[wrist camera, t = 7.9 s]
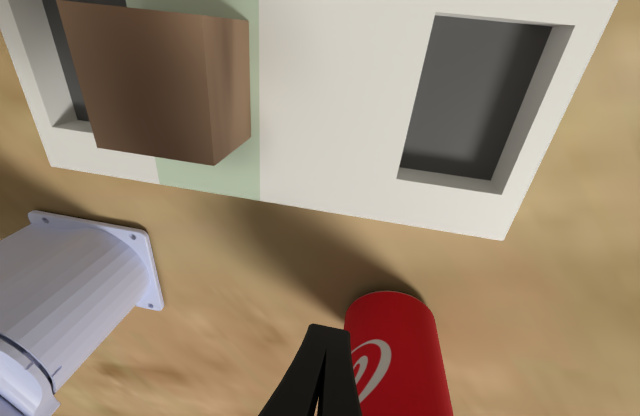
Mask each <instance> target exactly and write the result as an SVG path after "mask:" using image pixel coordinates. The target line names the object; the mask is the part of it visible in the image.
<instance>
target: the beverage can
mask: <svg viewBox="0 0 640 416" xmlns="http://www.w3.org/2000/svg"><path fill="white" fill-rule="evenodd" d="M344 330H347V331H349V333H350V342H351V355H352V363H353V370H354V377H355V382H356V387H357V392H358V397H359V402H360V407H361V411H362V415H363V416H453V411H452V406H451V401H450V395H449V390H448V385H447V380H446V375H445V370H444V365H443V360H442V355H441V350H440V344H439V339H438V334H437V329H436V324H435V319H434V316H433V314H432V312H431V311H430V309H429V308H428V307H427V306H426V305H425V304H424V303H423V302H421V301H420V300H418V299H417V298H415V297H413V296H411V295H408V294H405V293H401V292H397V291H377V292H372V293H369V294H366V295H364V296H361V297H360V298H358V299H356V300H355V301H354V302H353V303H352V304H351V305H350V306H349V308H348V310H347V312H346V315H345V323H344Z"/></svg>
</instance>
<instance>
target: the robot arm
mask: <svg viewBox="0 0 640 416" xmlns="http://www.w3.org/2000/svg"><path fill="white" fill-rule="evenodd" d="M28 218H29V221H30V223H31V224H30V225H28V226H26V227H24V228H22V229H21V230H19V231H17V232H15V233H13V234H11V235H9V236H8V237H6V238H4V239H2V240H0V416H51V415H52V414H53V413H54V412H55V411H56V409H57V408H58V407H59V406H60V402H59V401H58V400H57V399H56V398H55V397H54V394H55V393H56V392H57V391H58V390H59V389H60V388H61V387H62V385H63V384H64V383H65V382H66V381H67V380H68V379H69V378H70V377H71V376H72V374H73V373H74V372H75V371H76V370H77V369H78V368H79V367H80V366H81V365H82V363H83V362H84V361H85V360H86V359H87V358H88V357H89V356H90V355H91V354H92V352H93V351H94V350H95V349H96V348H97V347H98V346H99V345H100V344H101V342H102V341H103V340H104V339H105V338H106V337H107V336H108V335H109V334H110V333H111V331H112V330H113V329H114V328H115V327H116V326H117V325H118V324H119V323H120V322H121V320H122V319H123V318H124V317H125V316H126V315H127V314H128V313H129V312H130V311H131V309H132V308H133V307H134V306H137V307H142V308H147V309H152V310H157V311H160V310H162V308H163V307H164V302H163V297H162V293H161V288H160V284H159V279H158V275H157V271H156V266H155V262H154V257H153V253H152V249H151V244H150V240H149V236H148V234H147V233H146V232H145V231H144V230H141V229H135V228H130V227H124V226H119V225H113V224H108V223H102V222H97V221H91V220H86V219H81V218H75V217H70V216H64V215H59V214H53V213H48V212H42V211H37V210H33V211H31V212H29V213H28ZM318 397H319V400H318ZM317 401H318V412H317V416H363V415H362V411H361V407H360V402H359V397H358V392H357V387H356V382H355V377H354V370H353V363H352V355H351V342H350V333H349V331H347V330H342V329H337V328H332V327H327V326H323V325H318V324H311V325H309V327H308V330H307V333H306V335H305V338H304V340H303V342H302V344H301V346H300V348H299V350H298V352H297V354H296V356H295V358H294V360H293V362H292V363H291V365H290V367H289V368H288V370H287V372H286V374H285V375H284V377H283V379H282V380H281V382H280V384H279V385H278V387H277V388H276V390H275V391H274V393H273V394H272V396H271V397H270V399H269V400H268V402H267V403H266V405H265V406H264V408H263V409H262V411H261V412H260V414H259V415H258V416H314V413H315V409H316V405H317Z"/></svg>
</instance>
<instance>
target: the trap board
mask: <svg viewBox="0 0 640 416" xmlns="http://www.w3.org/2000/svg"><path fill="white" fill-rule="evenodd" d="M63 1H72V2H82V3H91V4H101V5H110V6H120V7H129V8H139V9H148V10H158V11H167V12H177V13H186V14H196V15H205V16H213V17H221V18H229V19H238V20H246V21H249V57H250V107H251V138H249V139H248V140H247V141H246V142H244V143H243V144H242V145H240V146H239V147H238V148H237V149H235V150H234V151H233V152H232V153H230V154H229V155H228V156H226V157H225V158H224V159H223V160H221V161H220V162H219V163H218V164H216V165H215V166H210V165H204V164H197V163H191V162H185V161H178V160H172V159H166V158H159V157H153V156H146V155H140V154H134V153H127V152H121V151H114V150H108V149H102V148H97V146H96V142H95V138H94V135H93V131H92V128H91V124H90V121H89V117H88V113H87V110H86V106H85V103H84V99H83V95H82V92H81V88H80V85H79V81H78V78H77V74H76V70H75V67H74V63H73V60H72V56H71V52H70V49H69V45H68V42H67V38H66V35H65V31H64V27H63V24H62V20H61V17H60V13H59V9H58V6H57V2H56V0H0V29H1V32H2V35H3V37H4V40H5V43H6V45H7V48H8V51H9V54H10V56H11V59H12V62H13V64H14V67H15V70H16V73H17V75H18V78H19V81H20V83H21V86H22V89H23V92H24V94H25V97H26V100H27V102H28V105H29V108H30V111H31V113H32V116H33V119H34V121H35V124H36V127H37V130H38V132H39V135H40V138H41V140H42V143H43V146H44V149H45V151H46V154H47V157H48V159H49V162H50V165H51V166H52V167H58V168H64V169H70V170H77V171H83V172H89V173H95V174H101V175H107V176H113V177H119V178H125V179H131V180H137V181H143V182H149V183H155V184H161V185H167V186H173V187H179V188H185V189H191V190H197V191H204V192H210V193H216V194H222V195H228V196H234V197H240V198H246V199H252V200H258V201H264V202H270V203H276V204H282V205H288V206H294V207H300V208H306V209H312V210H318V211H325V212H331V213H337V214H343V215H349V216H355V217H361V218H367V219H373V220H379V221H385V222H391V223H397V224H403V225H409V226H415V227H421V228H427V229H433V230H439V231H445V232H452V233H458V234H464V235H470V236H476V237H482V238H488V239H494V240H500V241H503V240H504V238H505V236H506V234H507V232H508V230H509V228H510V226H511V224H512V221H513V219H514V217H515V215H516V213H517V211H518V209H519V207H520V205H521V203H522V201H523V198H524V196H525V194H526V192H527V190H528V188H529V186H530V184H531V182H532V180H533V178H534V175H535V173H536V171H537V169H538V167H539V165H540V163H541V161H542V159H543V157H544V155H545V152H546V150H547V148H548V146H549V144H550V142H551V140H552V138H553V136H554V134H555V132H556V129H557V127H558V125H559V123H560V121H561V119H562V117H563V115H564V113H565V111H566V109H567V106H568V104H569V102H570V100H571V98H572V96H573V94H574V92H575V90H576V88H577V86H578V83H579V81H580V79H581V77H582V75H583V73H584V71H585V69H586V67H587V65H588V62H589V60H590V58H591V56H592V54H593V52H594V50H595V48H596V46H597V44H598V42H599V39H600V37H601V35H602V33H603V31H604V29H605V27H606V25H607V23H608V21H609V19H610V16H611V14H612V12H613V10H614V8H615V6H616V4H617V2H618V0H63Z"/></svg>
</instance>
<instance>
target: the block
mask: <svg viewBox="0 0 640 416" xmlns="http://www.w3.org/2000/svg"><path fill="white" fill-rule="evenodd" d="M56 2H57V6H58V9H59V13H60V17H61V20H62V24H63V27H64V31H65V35H66V38H67V42H68V45H69V49H70V52H71V56H72V60H73V63H74V67H75V70H76V74H77V78H78V81H79V85H80V88H81V92H82V95H83V99H84V103H85V106H86V110H87V113H88V117H89V121H90V124H91V128H92V131H93V135H94V138H95V142H96V146H97V148H102V149H108V150H114V151H121V152H127V153H134V154H140V155H146V156H153V157H159V158H166V159H172V160H178V161H185V162H191V163H197V164H204V165H210V166H215V165H216V164H218V163H219V162H220V161H221V160H223V159H224V158H225V157H226V156H228V155H229V154H230V153H232V152H233V151H234V150H235V149H237V148H238V147H239V146H240V145H242V144H243V143H244V142H246V141H247V140H248V139H249V138H251V107H250V57H249V21H246V20H238V19H229V18H221V17H213V16H205V15H196V14H186V13H177V12H167V11H158V10H148V9H139V8H129V7H120V6H110V5H101V4H91V3H82V2H72V1H63V0H56Z"/></svg>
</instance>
